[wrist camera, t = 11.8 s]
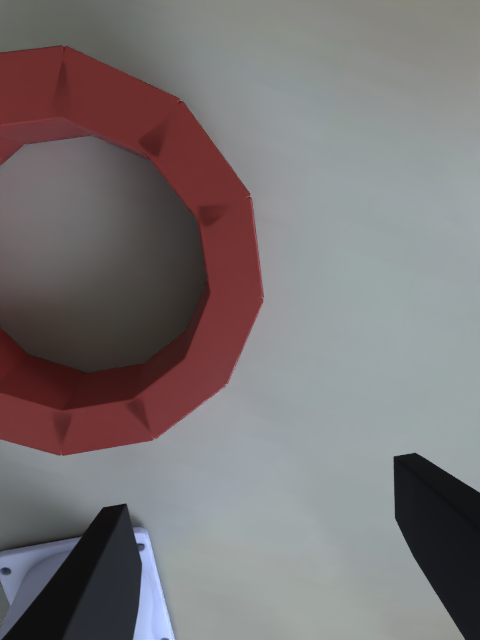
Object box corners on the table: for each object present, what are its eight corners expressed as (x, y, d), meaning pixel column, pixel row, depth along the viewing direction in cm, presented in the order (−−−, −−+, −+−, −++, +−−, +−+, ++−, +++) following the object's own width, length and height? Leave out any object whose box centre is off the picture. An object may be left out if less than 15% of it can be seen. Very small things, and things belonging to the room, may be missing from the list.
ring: (265, 381, 20) (278, 419, 17) (-22, 429, 19) (-70, 479, 16) (224, 61, 16) (230, 23, 12) (-143, 107, 15) (-243, 81, 12)
